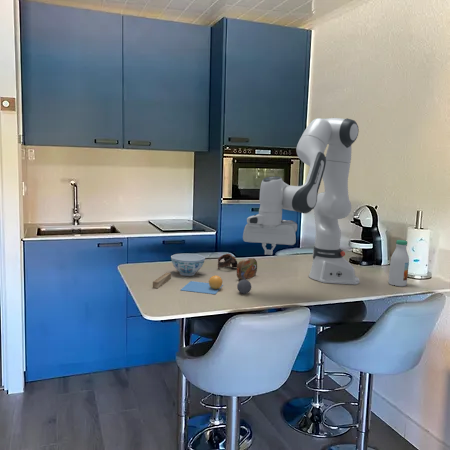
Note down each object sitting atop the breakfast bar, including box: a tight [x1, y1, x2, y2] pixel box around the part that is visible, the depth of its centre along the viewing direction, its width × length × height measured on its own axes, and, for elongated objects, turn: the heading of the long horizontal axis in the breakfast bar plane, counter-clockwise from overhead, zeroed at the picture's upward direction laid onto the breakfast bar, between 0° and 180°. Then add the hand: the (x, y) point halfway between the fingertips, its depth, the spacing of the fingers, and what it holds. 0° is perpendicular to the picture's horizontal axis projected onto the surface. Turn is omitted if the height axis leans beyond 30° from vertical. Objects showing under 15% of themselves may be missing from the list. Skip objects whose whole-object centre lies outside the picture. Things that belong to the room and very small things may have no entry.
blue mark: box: [180, 280, 224, 295], centre depth 182 cm, size 14×14×1 cm
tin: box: [236, 257, 258, 281], centre depth 201 cm, size 15×3×8 cm, turn 148°
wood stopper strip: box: [152, 272, 172, 289], centre depth 185 cm, size 2×16×2 cm, turn 168°
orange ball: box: [208, 274, 223, 289], centre depth 180 cm, size 6×6×6 cm
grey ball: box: [236, 279, 252, 295], centre depth 176 cm, size 6×6×6 cm
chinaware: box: [170, 253, 206, 277], centre depth 202 cm, size 15×15×8 cm
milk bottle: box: [388, 239, 410, 287], centre depth 202 cm, size 8×8×20 cm
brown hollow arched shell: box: [217, 253, 239, 269], centre depth 217 cm, size 12×10×8 cm
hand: (268, 254), depth 176 cm, fingers closed
